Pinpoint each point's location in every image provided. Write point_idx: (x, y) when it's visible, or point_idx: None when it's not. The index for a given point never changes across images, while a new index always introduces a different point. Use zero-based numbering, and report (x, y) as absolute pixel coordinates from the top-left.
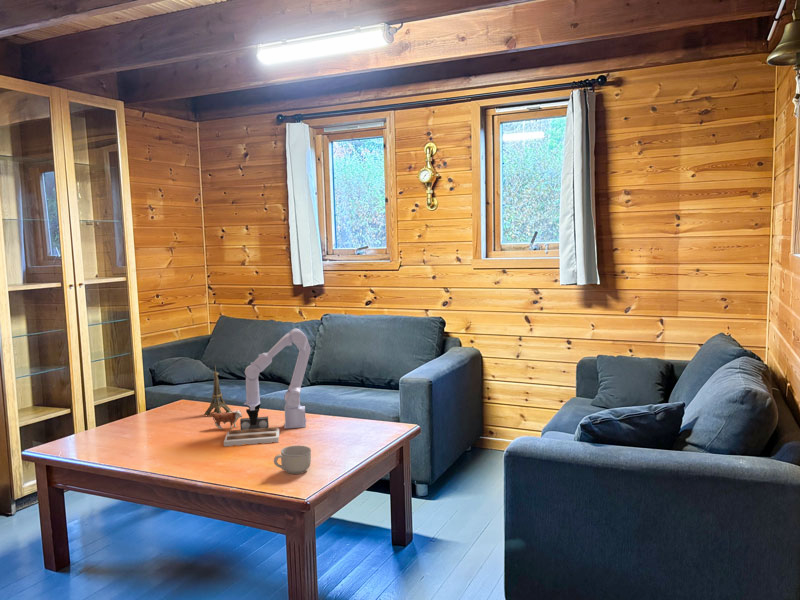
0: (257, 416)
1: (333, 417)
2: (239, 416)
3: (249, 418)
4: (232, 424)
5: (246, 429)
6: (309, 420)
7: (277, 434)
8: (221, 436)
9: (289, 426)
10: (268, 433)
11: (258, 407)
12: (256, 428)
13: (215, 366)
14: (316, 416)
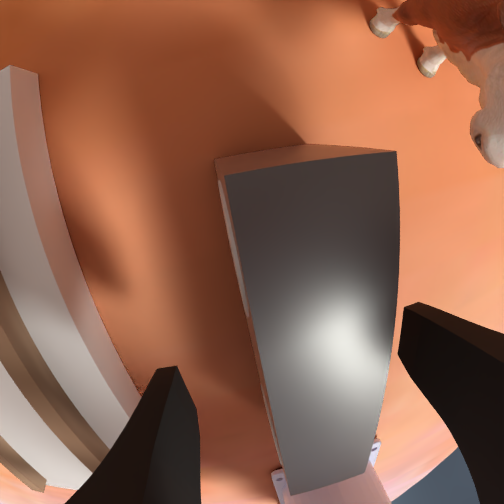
0: (421, 390)
1: (392, 499)
2: (484, 115)
3: (113, 446)
4: (406, 24)
5: (4, 335)
6: (394, 474)
7: (60, 484)
8: (65, 2)
9: (286, 486)
10: (9, 467)
11: (483, 483)
12: (253, 348)
13: None
14: (435, 462)
